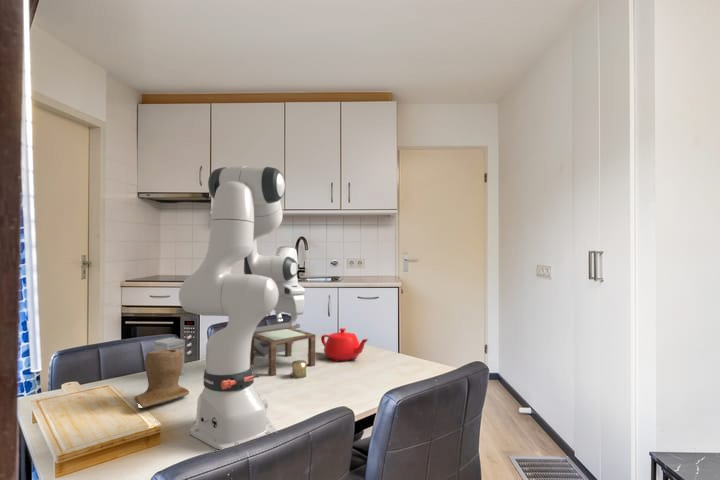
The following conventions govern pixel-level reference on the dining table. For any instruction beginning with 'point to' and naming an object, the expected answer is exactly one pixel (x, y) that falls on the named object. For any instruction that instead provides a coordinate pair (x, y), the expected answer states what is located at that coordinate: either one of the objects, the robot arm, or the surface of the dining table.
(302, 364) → the cylinder
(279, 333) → the trapdoor
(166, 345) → the supplement box
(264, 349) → the grey anvil
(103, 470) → the dining table surface
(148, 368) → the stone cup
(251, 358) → the frame
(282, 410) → the dining table surface
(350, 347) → the teapot
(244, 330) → the robot arm
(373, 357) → the dining table surface
